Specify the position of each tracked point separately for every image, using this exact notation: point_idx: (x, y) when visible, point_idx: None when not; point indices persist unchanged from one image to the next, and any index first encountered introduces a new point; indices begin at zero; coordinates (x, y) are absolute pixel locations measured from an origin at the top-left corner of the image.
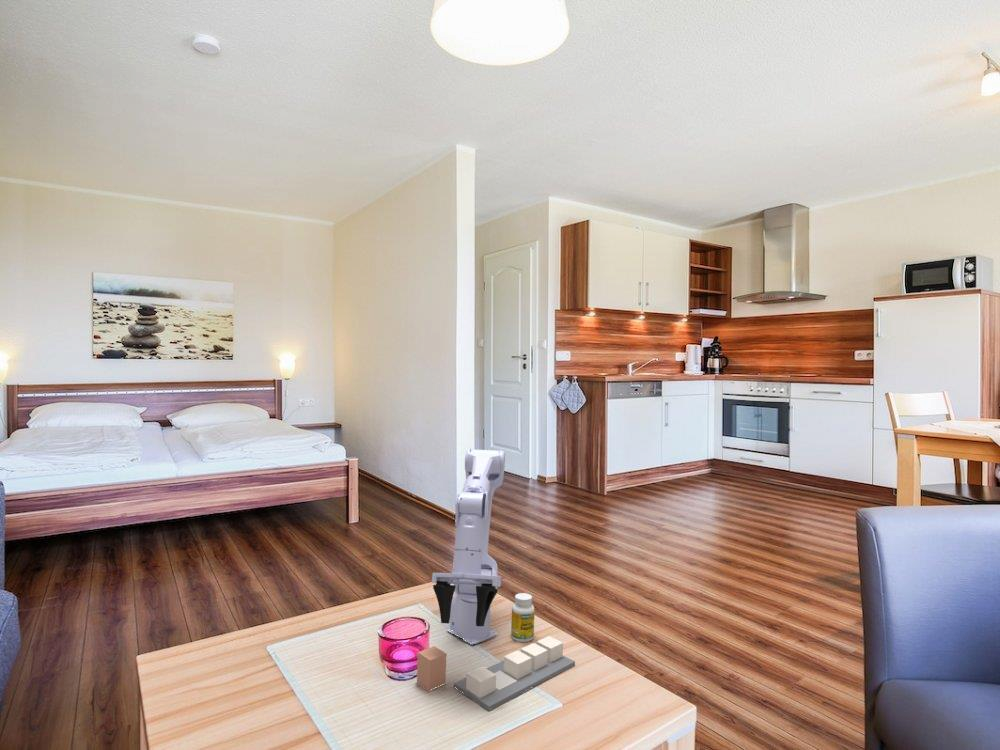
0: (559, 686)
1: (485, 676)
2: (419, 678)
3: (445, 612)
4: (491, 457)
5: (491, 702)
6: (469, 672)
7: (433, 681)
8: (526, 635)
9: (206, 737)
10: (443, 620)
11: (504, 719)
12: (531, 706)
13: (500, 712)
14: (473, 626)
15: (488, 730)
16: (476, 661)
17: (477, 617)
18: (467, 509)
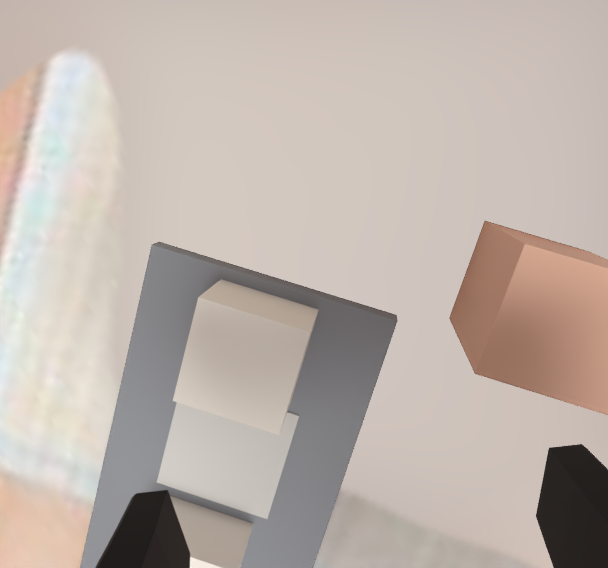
0: (26, 545)
1: (207, 357)
2: (578, 250)
3: (602, 558)
4: None
5: (160, 278)
6: (301, 347)
7: (483, 252)
8: None
9: None
10: (565, 462)
11: (75, 228)
12: (39, 367)
13: (115, 261)
14: None
15: (85, 122)
16: (426, 556)
17: (126, 558)
18: None
